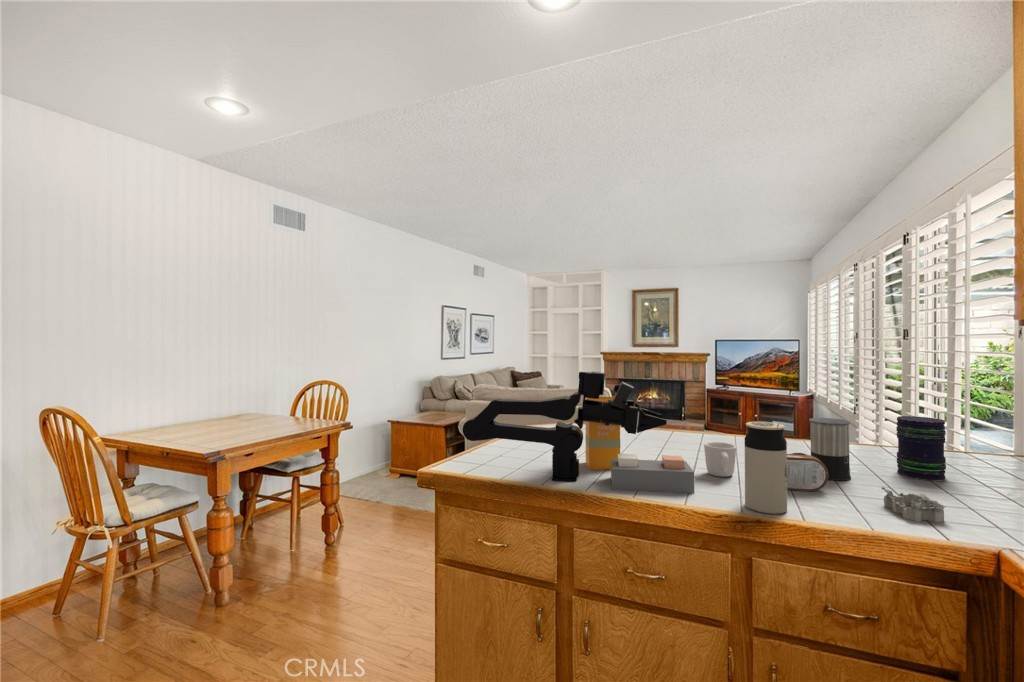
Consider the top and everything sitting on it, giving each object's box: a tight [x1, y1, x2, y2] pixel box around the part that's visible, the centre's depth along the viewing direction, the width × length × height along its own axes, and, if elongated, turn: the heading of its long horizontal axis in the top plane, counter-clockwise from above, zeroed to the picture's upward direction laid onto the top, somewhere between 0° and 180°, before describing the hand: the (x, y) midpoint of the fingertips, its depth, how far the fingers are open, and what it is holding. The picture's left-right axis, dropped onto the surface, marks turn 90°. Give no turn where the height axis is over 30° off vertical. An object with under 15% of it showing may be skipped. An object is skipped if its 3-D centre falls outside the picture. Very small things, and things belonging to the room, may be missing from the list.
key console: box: [610, 459, 695, 494], centre depth 117 cm, size 19×10×5 cm, turn 80°
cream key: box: [618, 453, 639, 467], centre depth 118 cm, size 5×5×4 cm
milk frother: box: [791, 417, 852, 481], centre depth 128 cm, size 14×16×15 cm
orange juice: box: [584, 396, 621, 470], centre depth 136 cm, size 8×9×20 cm
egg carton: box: [881, 486, 948, 524], centre depth 98 cm, size 11×8×4 cm
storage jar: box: [896, 415, 947, 481], centre depth 125 cm, size 10×10×15 cm
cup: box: [703, 441, 737, 478], centre depth 125 cm, size 11×8×8 cm
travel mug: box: [744, 421, 788, 515], centre depth 101 cm, size 8×8×18 cm
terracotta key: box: [661, 455, 685, 469], centre depth 117 cm, size 5×5×4 cm
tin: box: [787, 453, 829, 492], centre depth 114 cm, size 15×3×8 cm, turn 77°
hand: (664, 419), depth 120 cm, fingers open, 9 cm apart
